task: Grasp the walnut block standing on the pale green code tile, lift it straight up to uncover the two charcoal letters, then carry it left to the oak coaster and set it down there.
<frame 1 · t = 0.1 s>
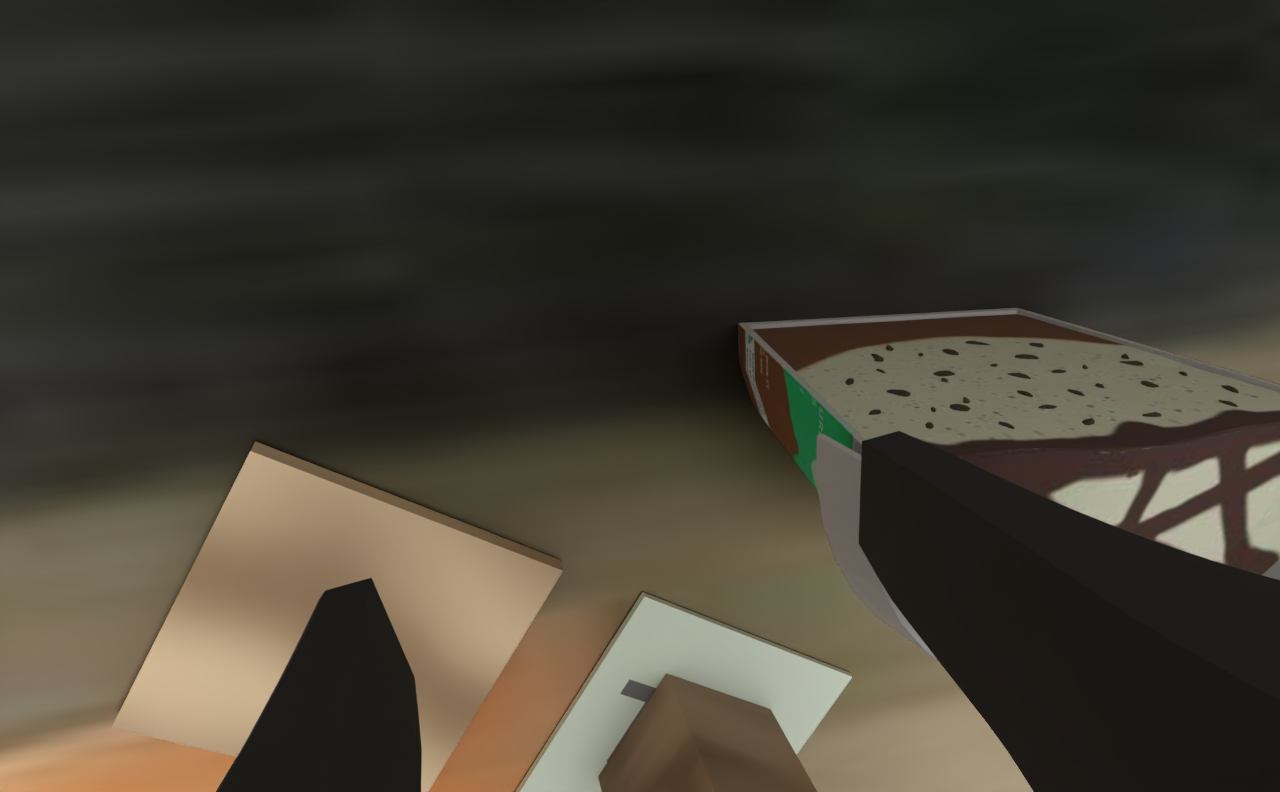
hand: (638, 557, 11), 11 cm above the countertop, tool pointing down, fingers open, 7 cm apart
coaster: (348, 632, 22), on the countertop
block: (685, 742, 26), resting on code tile
code tile: (683, 736, 27), on the countertop
food container: (869, 408, 24), on the countertop
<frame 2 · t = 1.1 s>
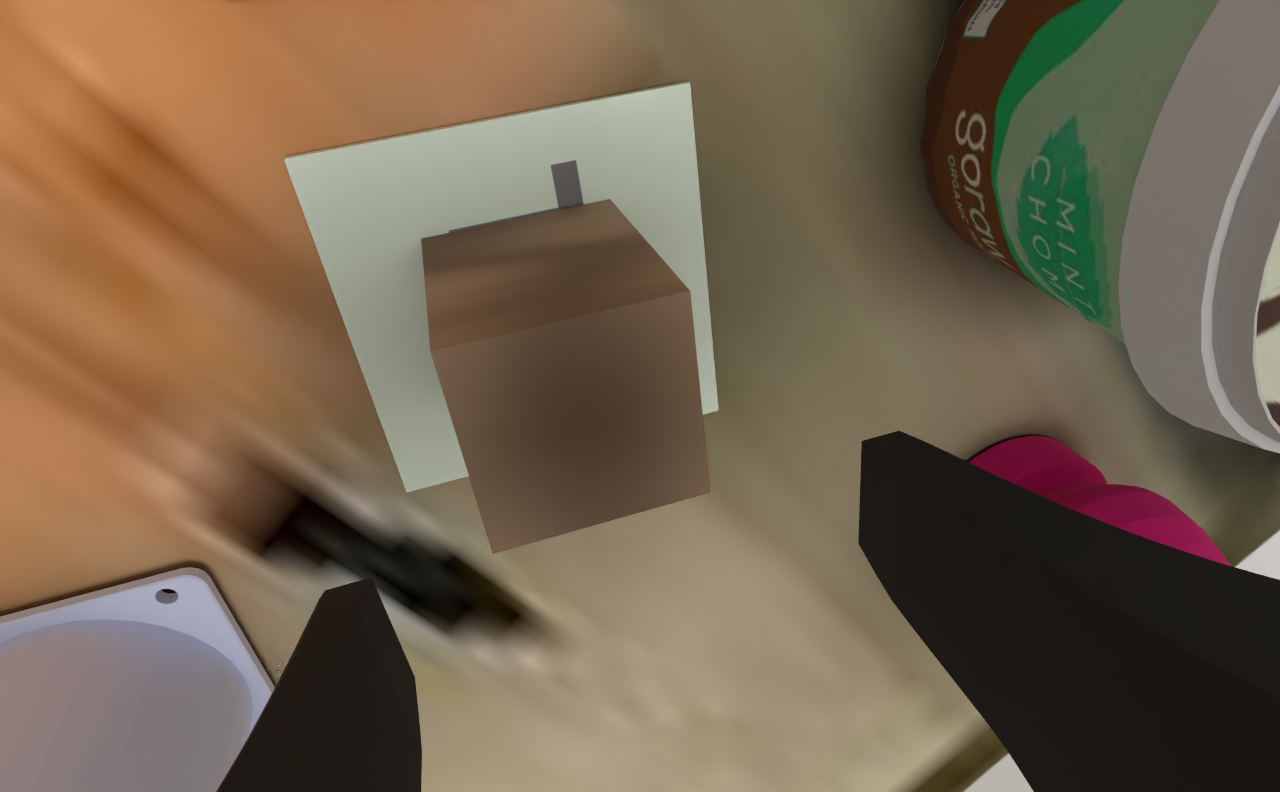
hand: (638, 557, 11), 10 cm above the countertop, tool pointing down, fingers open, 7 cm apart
block: (536, 305, 19), resting on code tile
pepper mill: (995, 502, 28), on the countertop
code tile: (534, 301, 19), on the countertop
food container: (987, 159, 21), on the countertop
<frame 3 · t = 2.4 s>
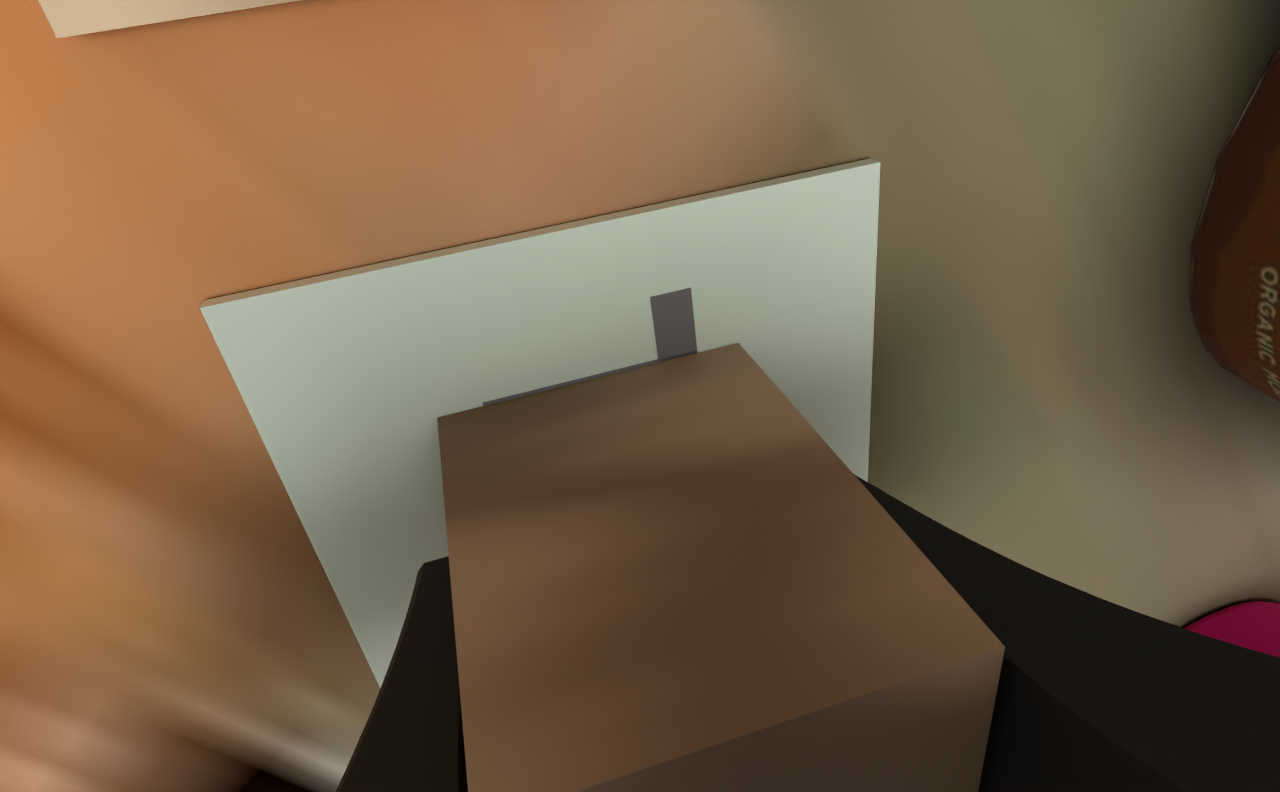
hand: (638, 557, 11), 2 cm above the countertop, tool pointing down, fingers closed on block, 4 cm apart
block: (615, 499, 12), resting on code tile, touching gripper
pepper mill: (1188, 677, 21), on the countertop
code tile: (611, 489, 12), on the countertop
food container: (1272, 256, 14), on the countertop
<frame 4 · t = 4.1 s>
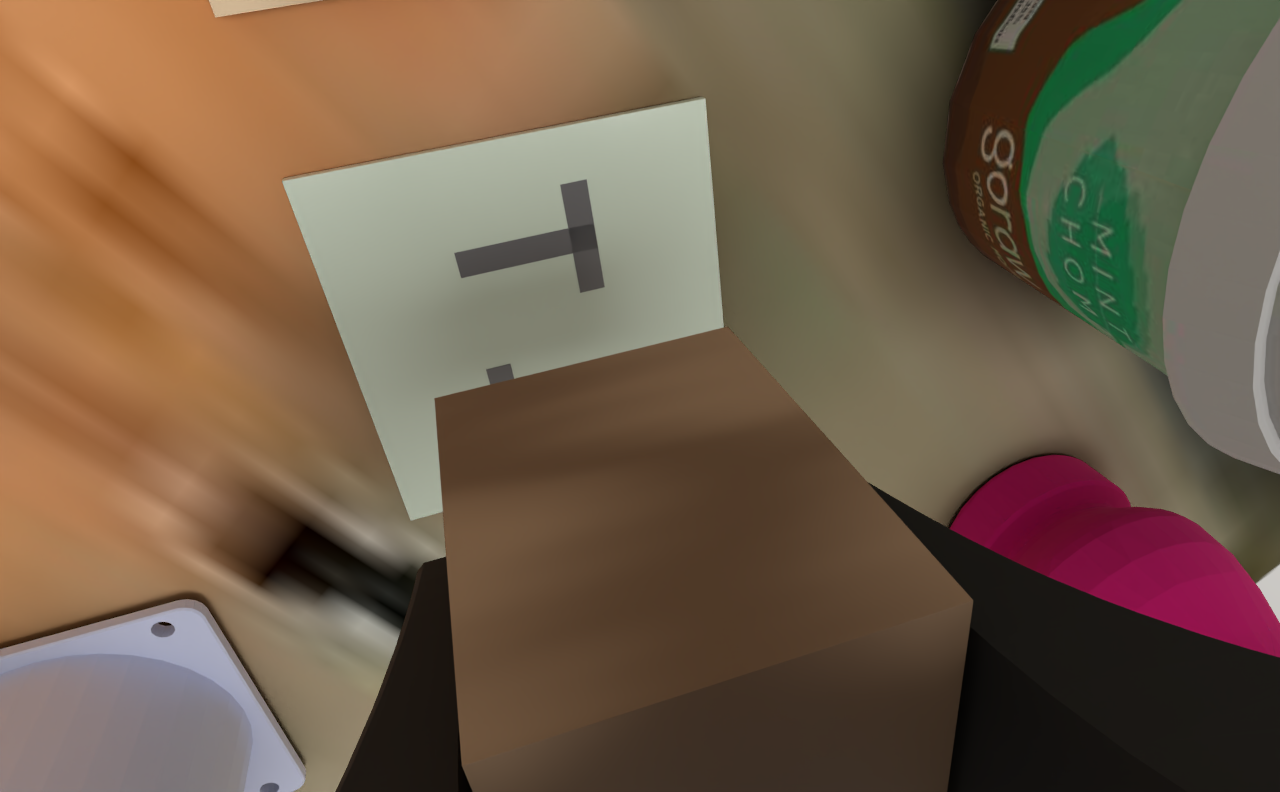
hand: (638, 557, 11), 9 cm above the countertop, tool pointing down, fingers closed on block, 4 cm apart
block: (608, 480, 13), point 7 cm above the countertop, touching gripper
pepper mill: (1014, 522, 27), on the countertop
code tile: (543, 324, 19), on the countertop
food container: (1010, 174, 20), on the countertop
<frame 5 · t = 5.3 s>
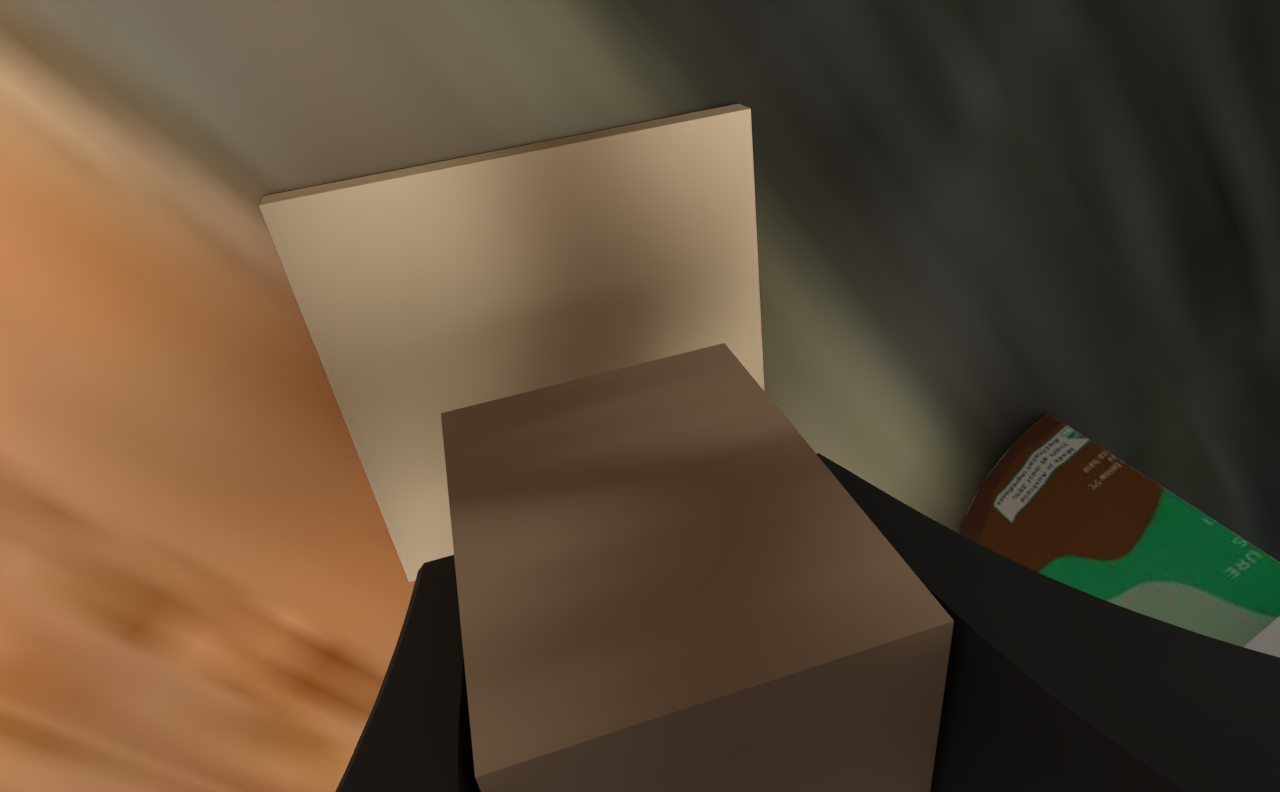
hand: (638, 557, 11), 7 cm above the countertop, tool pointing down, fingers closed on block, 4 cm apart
coaster: (557, 356, 17), on the countertop
block: (608, 489, 13), point 5 cm above the countertop, touching gripper
food container: (1010, 554, 25), on the countertop
when the fingers open (4 cm above the countertop, at t = 6.2 s): block drops 1 cm, resting on coaster.
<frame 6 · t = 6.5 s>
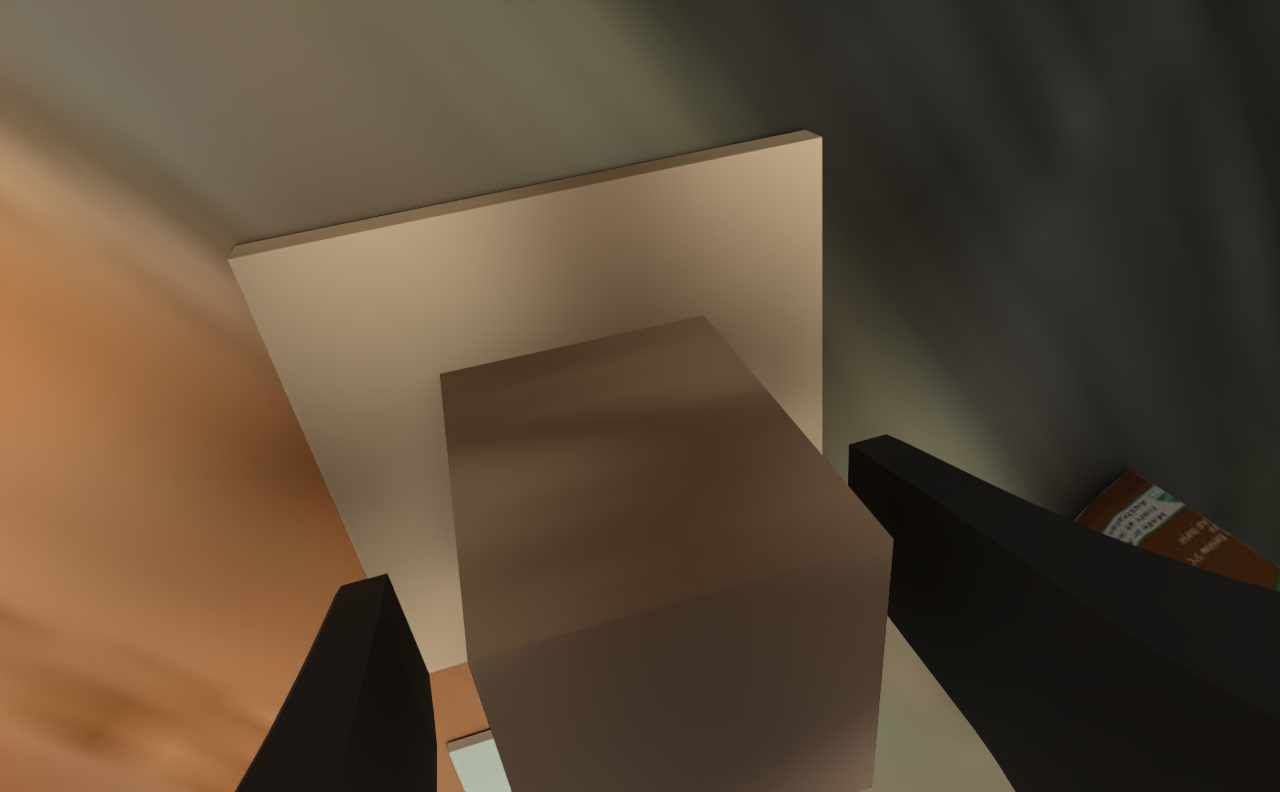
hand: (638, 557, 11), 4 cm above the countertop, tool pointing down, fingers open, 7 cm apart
coaster: (585, 423, 14), on the countertop
block: (594, 453, 14), point 1 cm above the countertop, touching coaster
code tile: (658, 791, 20), on the countertop
food container: (1076, 618, 22), on the countertop
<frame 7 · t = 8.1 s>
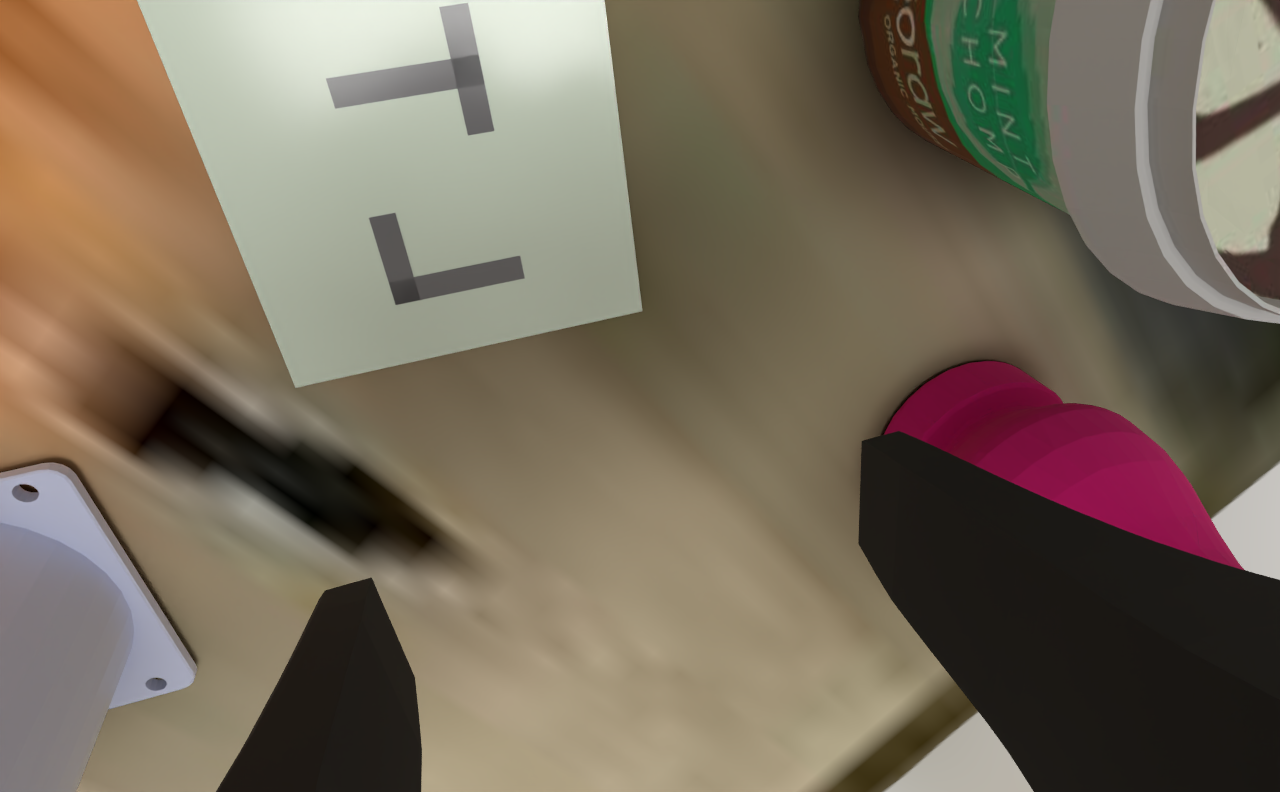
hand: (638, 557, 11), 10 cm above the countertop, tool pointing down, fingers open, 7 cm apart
pepper mill: (951, 436, 27), on the countertop
code tile: (430, 171, 18), on the countertop
food container: (933, 37, 19), on the countertop
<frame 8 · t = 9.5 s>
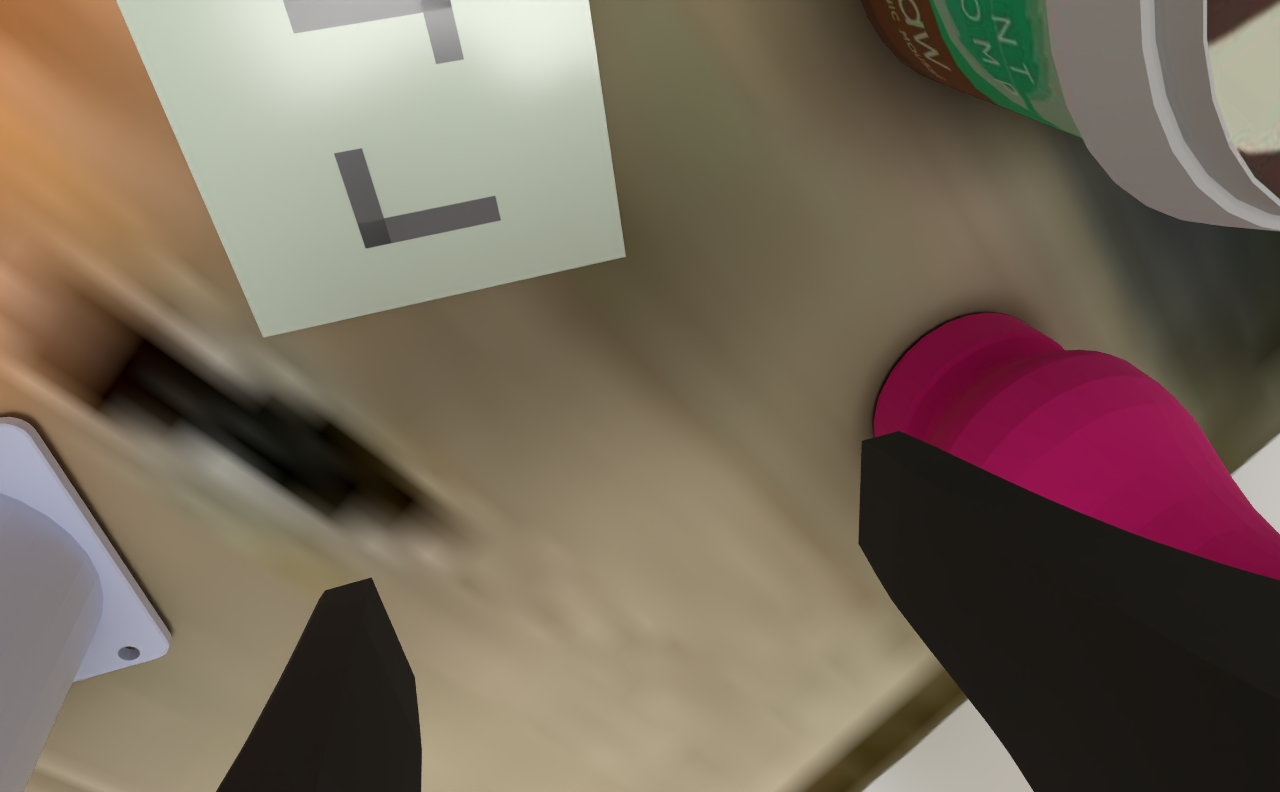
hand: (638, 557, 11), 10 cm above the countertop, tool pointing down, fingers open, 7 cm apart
pepper mill: (952, 394, 26), on the countertop
code tile: (398, 104, 17), on the countertop
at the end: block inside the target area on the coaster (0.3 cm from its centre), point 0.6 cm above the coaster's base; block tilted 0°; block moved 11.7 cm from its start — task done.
